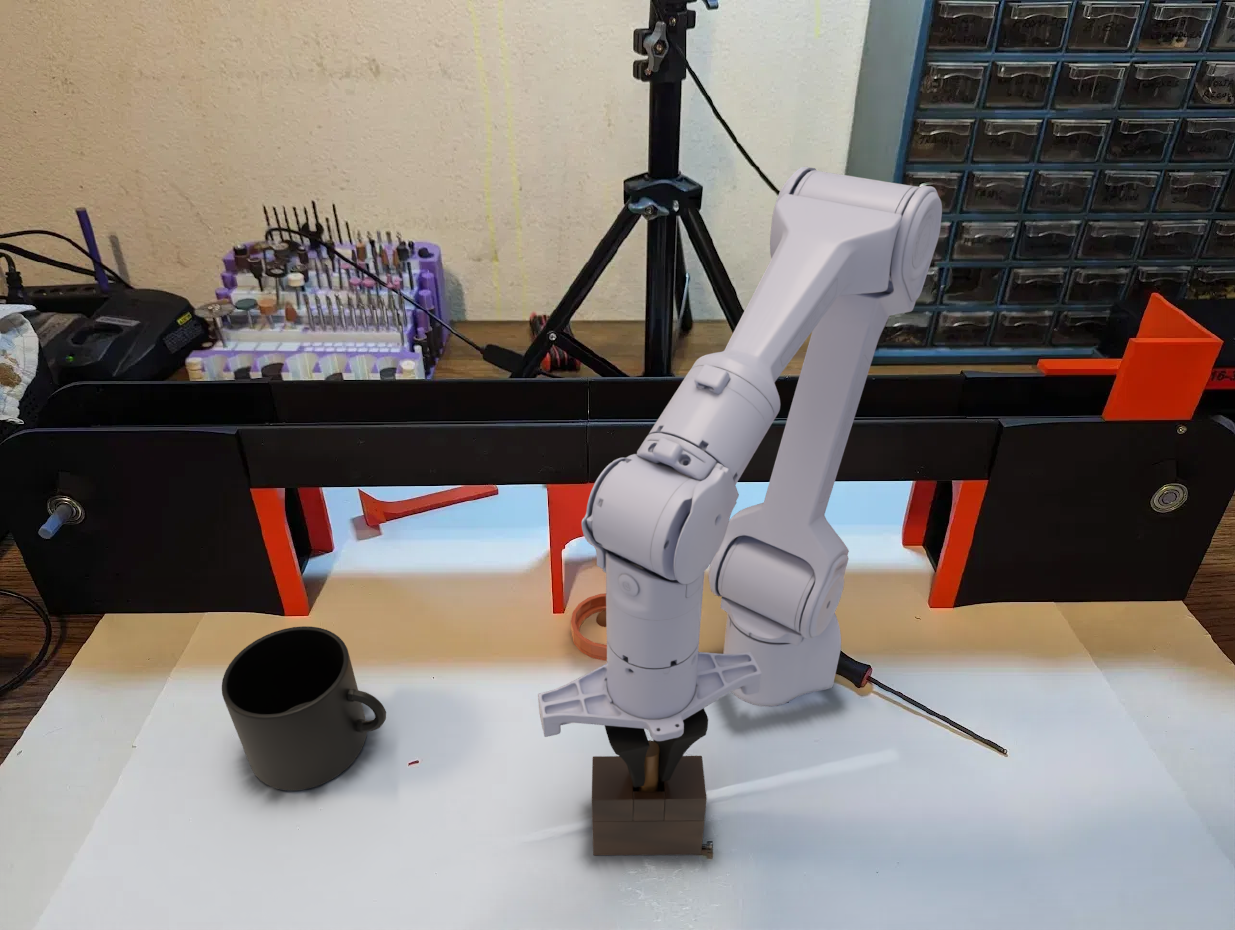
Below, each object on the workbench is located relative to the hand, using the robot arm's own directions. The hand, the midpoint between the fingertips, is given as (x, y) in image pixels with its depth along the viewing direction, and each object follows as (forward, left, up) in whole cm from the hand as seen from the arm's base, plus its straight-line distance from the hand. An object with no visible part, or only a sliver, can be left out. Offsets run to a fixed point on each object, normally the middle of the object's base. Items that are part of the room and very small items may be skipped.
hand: (648, 771), depth 57 cm
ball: (-2, -21, -6) cm, 22 cm away
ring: (-2, -20, -7) cm, 21 cm away
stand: (0, 0, -7) cm, 7 cm away
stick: (0, 0, -3) cm, 3 cm away
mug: (+24, -14, -8) cm, 29 cm away
